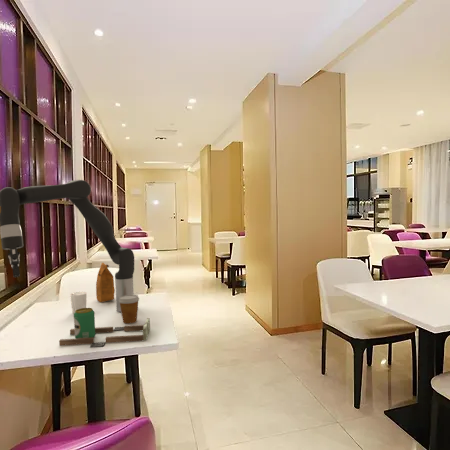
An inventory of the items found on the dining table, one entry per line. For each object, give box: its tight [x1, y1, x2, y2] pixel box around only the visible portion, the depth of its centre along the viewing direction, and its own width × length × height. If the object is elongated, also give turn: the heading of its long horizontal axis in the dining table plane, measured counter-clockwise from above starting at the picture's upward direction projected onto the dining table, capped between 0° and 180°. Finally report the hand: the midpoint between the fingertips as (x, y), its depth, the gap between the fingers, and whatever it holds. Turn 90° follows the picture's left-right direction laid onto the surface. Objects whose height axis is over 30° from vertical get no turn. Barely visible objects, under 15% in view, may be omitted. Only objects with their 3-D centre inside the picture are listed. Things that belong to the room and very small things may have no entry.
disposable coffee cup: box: [119, 294, 140, 325], centre depth 171 cm, size 10×10×12 cm
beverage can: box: [73, 307, 96, 339], centre depth 151 cm, size 8×8×12 cm
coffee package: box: [95, 262, 116, 303], centre depth 214 cm, size 10×12×22 cm
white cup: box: [69, 291, 88, 315], centre depth 190 cm, size 8×8×10 cm
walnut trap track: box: [58, 317, 151, 348], centre depth 152 cm, size 22×34×5 cm, turn 95°
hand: (16, 276), depth 144 cm, fingers open, 8 cm apart
